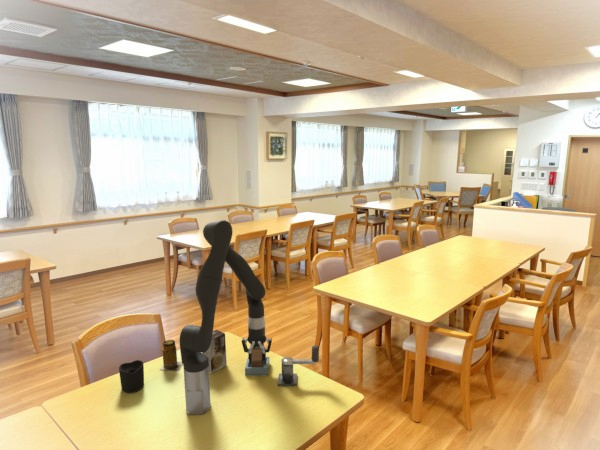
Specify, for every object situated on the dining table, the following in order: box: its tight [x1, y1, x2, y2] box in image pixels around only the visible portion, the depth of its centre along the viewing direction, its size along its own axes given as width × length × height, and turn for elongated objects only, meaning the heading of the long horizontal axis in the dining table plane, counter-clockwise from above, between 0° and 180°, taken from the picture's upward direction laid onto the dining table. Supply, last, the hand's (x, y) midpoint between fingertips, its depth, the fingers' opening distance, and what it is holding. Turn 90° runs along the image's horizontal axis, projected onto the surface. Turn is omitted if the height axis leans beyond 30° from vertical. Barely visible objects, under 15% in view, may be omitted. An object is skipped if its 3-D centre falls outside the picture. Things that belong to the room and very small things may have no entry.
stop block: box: [251, 347, 263, 367], centre depth 177 cm, size 4×4×10 cm
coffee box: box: [201, 329, 227, 374], centre depth 179 cm, size 9×6×16 cm
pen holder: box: [118, 359, 145, 394], centre depth 164 cm, size 9×9×10 cm
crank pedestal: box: [277, 364, 298, 387], centre depth 176 cm, size 24×8×8 cm, turn 0°
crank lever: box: [281, 345, 320, 366], centre depth 167 cm, size 16×5×7 cm, turn 90°
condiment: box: [160, 339, 183, 371], centre depth 180 cm, size 7×8×12 cm
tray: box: [244, 356, 270, 377], centre depth 178 cm, size 10×10×4 cm
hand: (257, 360), depth 177 cm, fingers open, 5 cm apart
